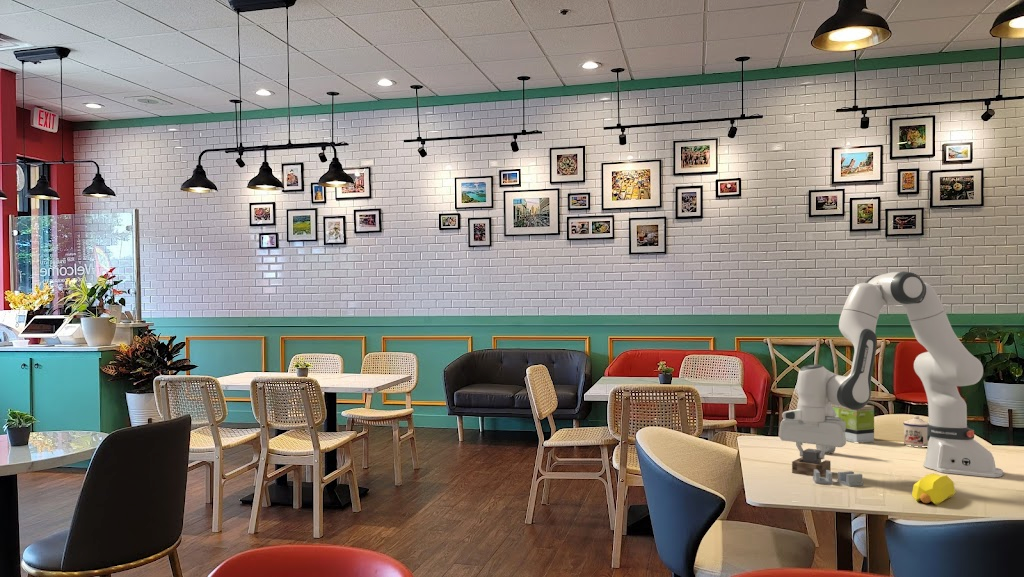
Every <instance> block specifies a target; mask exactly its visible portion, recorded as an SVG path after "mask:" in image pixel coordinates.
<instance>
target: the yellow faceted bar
mask: <svg viewBox="0 0 1024 577" xmlns="http://www.w3.org/2000/svg"><path fill="white" fill-rule="evenodd" d="M954 483H955V482H954V481H953V480H952V479H951V478H950V477H949V475H945V474H944V475H940V474H937V473H929V474H926V475H925V476H923V477H922V478H921V479H920V480H917V481H916V482H915V483H914V484H913V487H912V492H911V496H912V497H913V499H914V500H915V501H916V502H917V503H919V502H922V503H923V504H929V503H933V504H934V505H935V506H939V505H940V504H941V503H942V502H944V501H946V500H947V499H949V498H951V497H953V496H955V495H956V489H955V484H954Z"/></svg>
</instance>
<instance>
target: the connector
mask: <svg viewBox="0 0 1024 577" xmlns="http://www.w3.org/2000/svg"><path fill="white" fill-rule="evenodd" d="M818 453H821V450H817V449H814V448H806V449H803V462H805V463H813V464H819V463H821V462H822V459H818Z"/></svg>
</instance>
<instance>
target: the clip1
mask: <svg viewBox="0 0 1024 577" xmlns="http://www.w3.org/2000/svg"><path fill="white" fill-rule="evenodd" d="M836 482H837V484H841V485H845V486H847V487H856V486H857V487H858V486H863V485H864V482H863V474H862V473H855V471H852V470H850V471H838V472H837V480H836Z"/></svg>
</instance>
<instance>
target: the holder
mask: <svg viewBox="0 0 1024 577" xmlns="http://www.w3.org/2000/svg"><path fill="white" fill-rule="evenodd" d="M814 469H817V470H818V471H819V472H820V477H821V478H823V477H824V476H826V470H830V472H831V473H832V471H831V460H829V459H824V460H823V461H821V463H819V464H813V463H805V462H803V457H801V456H800V457H799V458H797V459H795V460H793V461H792V462H791V473H793V474H798V475H804V476H805V475H806V476H811V477H814Z"/></svg>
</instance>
